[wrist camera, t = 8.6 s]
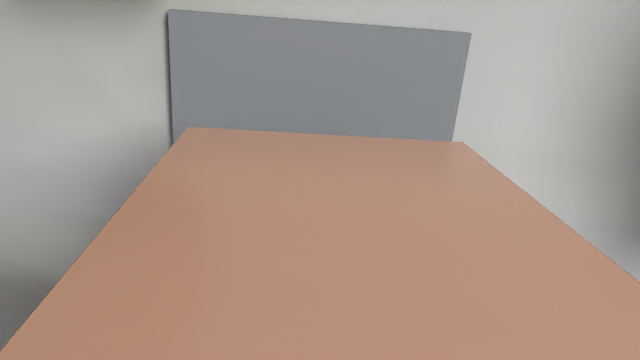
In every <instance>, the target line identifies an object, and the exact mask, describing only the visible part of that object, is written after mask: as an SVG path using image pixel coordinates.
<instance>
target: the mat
mask: <svg viewBox="0 0 640 360" xmlns="http://www.w3.org/2000/svg"><path fill="white" fill-rule="evenodd" d="M168 25H169V50H170V76H171V101H172V127H173V144H174V143H175V142H176V140H177V139H178V138H179V137H180V136H181V134H182V133H183V132H184V131H185V130H186V128H187V127H203V128H221V129H238V130H256V131H273V132H291V133H308V134H326V135H344V136H361V137H379V138H396V139H414V140H432V141H449V142H452V137H453V131H454V126H455V121H456V115H457V110H458V104H459V99H460V93H461V88H462V82H463V77H464V71H465V66H466V60H467V55H468V50H469V44H470V39H471V33H466V32H453V31H440V30H427V29H415V28H402V27H389V26H376V25H363V24H350V23H338V22H325V21H312V20H299V19H286V18H273V17H260V16H248V15H235V14H222V13H209V12H196V11H183V10H168Z"/></svg>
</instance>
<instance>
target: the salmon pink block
mask: <svg viewBox="0 0 640 360" xmlns="http://www.w3.org/2000/svg"><path fill="white" fill-rule="evenodd" d="M0 360H640V282H639V281H637V280H636V279H635V278H634V277H632V276H631V275H630V274H629V273H627V272H626V271H625V270H623V269H622V268H621V267H620V266H618V265H617V264H616V263H615V262H613V261H612V260H611V259H610V258H608V257H607V256H606V255H605V254H603V253H602V252H601V251H599V250H598V249H597V248H596V247H594V246H593V245H592V244H591V243H589V242H588V241H587V240H586V239H584V238H583V237H582V236H581V235H579V234H578V233H577V232H575V231H574V230H573V229H572V228H570V227H569V226H568V225H567V224H565V223H564V222H563V221H562V220H560V219H559V218H558V217H557V216H555V215H554V214H553V213H552V212H550V211H549V210H548V209H546V208H545V207H544V206H543V205H541V204H540V203H539V202H538V201H536V200H535V199H534V198H533V197H531V196H530V195H529V194H528V193H526V192H525V191H524V190H522V189H521V188H520V187H519V186H517V185H516V184H515V183H514V182H512V181H511V180H510V179H509V178H507V177H506V176H505V175H504V174H502V173H501V172H500V171H498V170H497V169H496V168H495V167H493V166H492V165H491V164H490V163H488V162H487V161H486V160H485V159H483V158H482V157H481V156H480V155H478V154H477V153H476V152H474V151H473V150H472V149H471V148H469V147H468V146H467V145H466V144H464V143H463V142H449V141H432V140H414V139H396V138H379V137H361V136H344V135H326V134H308V133H291V132H273V131H256V130H238V129H221V128H203V127H187V128H186V130H185V131H184V132H183V133H182V134H181V136H180V137H179V138H178V139H177V140H176V142H175V143H174V144H173V145H172V146H171V148H170V149H169V150H168V151H167V152H166V154H165V155H164V156H163V157H162V158H161V160H160V161H159V162H158V163H157V164H156V166H155V167H154V168H153V169H152V170H151V172H150V173H149V174H148V175H147V176H146V178H145V179H144V180H143V181H142V182H141V184H140V185H139V186H138V187H137V188H136V190H135V191H134V192H133V193H132V194H131V195H130V197H129V198H128V199H127V200H126V201H125V203H124V204H123V205H122V206H121V207H120V209H119V210H118V211H117V212H116V213H115V215H114V216H113V217H112V218H111V219H110V221H109V222H108V223H107V224H106V225H105V227H104V228H103V229H102V230H101V231H100V233H99V234H98V235H97V236H96V237H95V239H94V240H93V241H92V242H91V243H90V245H89V246H88V247H87V248H86V249H85V251H84V252H83V253H82V254H81V255H80V257H79V258H78V259H77V260H76V261H75V263H74V264H73V265H72V266H71V267H70V269H69V270H68V271H67V272H66V273H65V275H64V276H63V277H62V278H61V279H60V280H59V282H58V283H57V284H56V285H55V286H54V288H53V289H52V290H51V291H50V292H49V294H48V295H47V296H46V297H45V298H44V300H43V301H42V302H41V303H40V304H39V306H38V307H37V308H36V309H35V310H34V312H33V313H32V314H31V315H30V316H29V318H28V319H27V320H26V321H25V322H24V324H23V325H22V326H21V327H20V328H19V330H18V331H17V332H16V333H15V334H14V336H13V337H12V338H11V339H10V340H9V342H8V343H7V344H6V345H5V346H4V348H3V349H2V350H1V351H0Z"/></svg>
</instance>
